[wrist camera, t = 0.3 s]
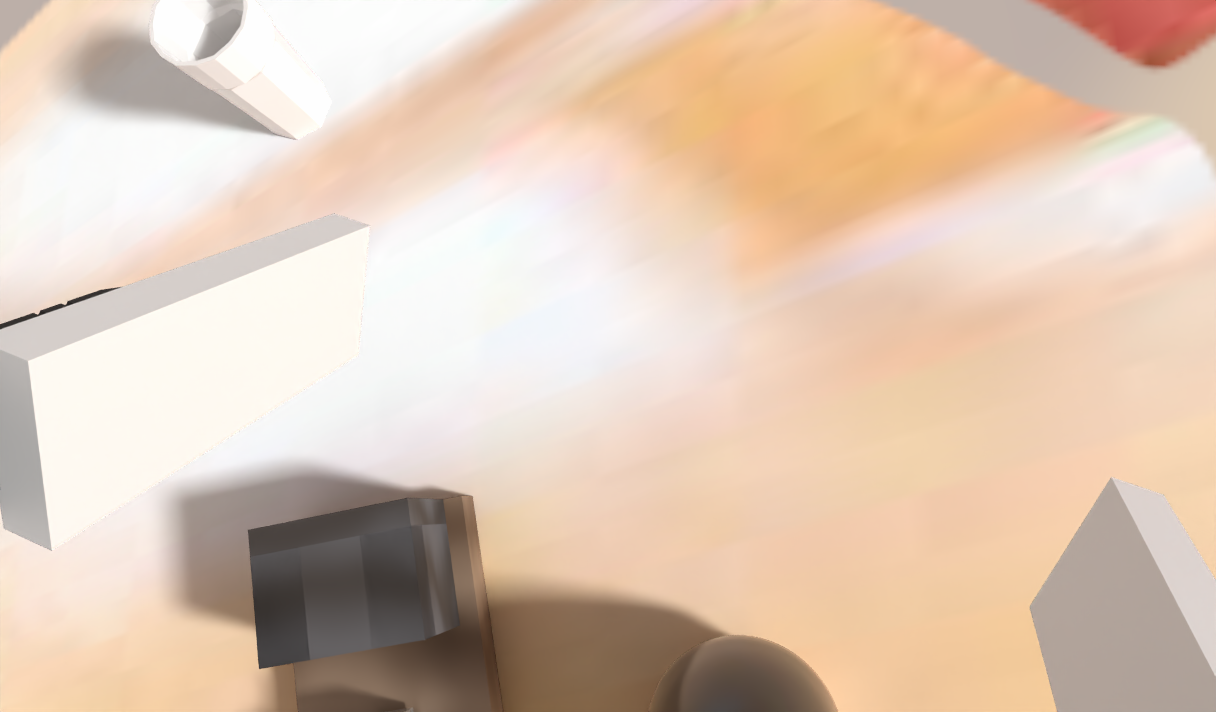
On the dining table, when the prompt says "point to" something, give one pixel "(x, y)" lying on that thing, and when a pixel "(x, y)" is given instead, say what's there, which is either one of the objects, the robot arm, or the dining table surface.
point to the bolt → (403, 710)
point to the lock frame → (378, 608)
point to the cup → (241, 61)
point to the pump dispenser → (740, 680)
